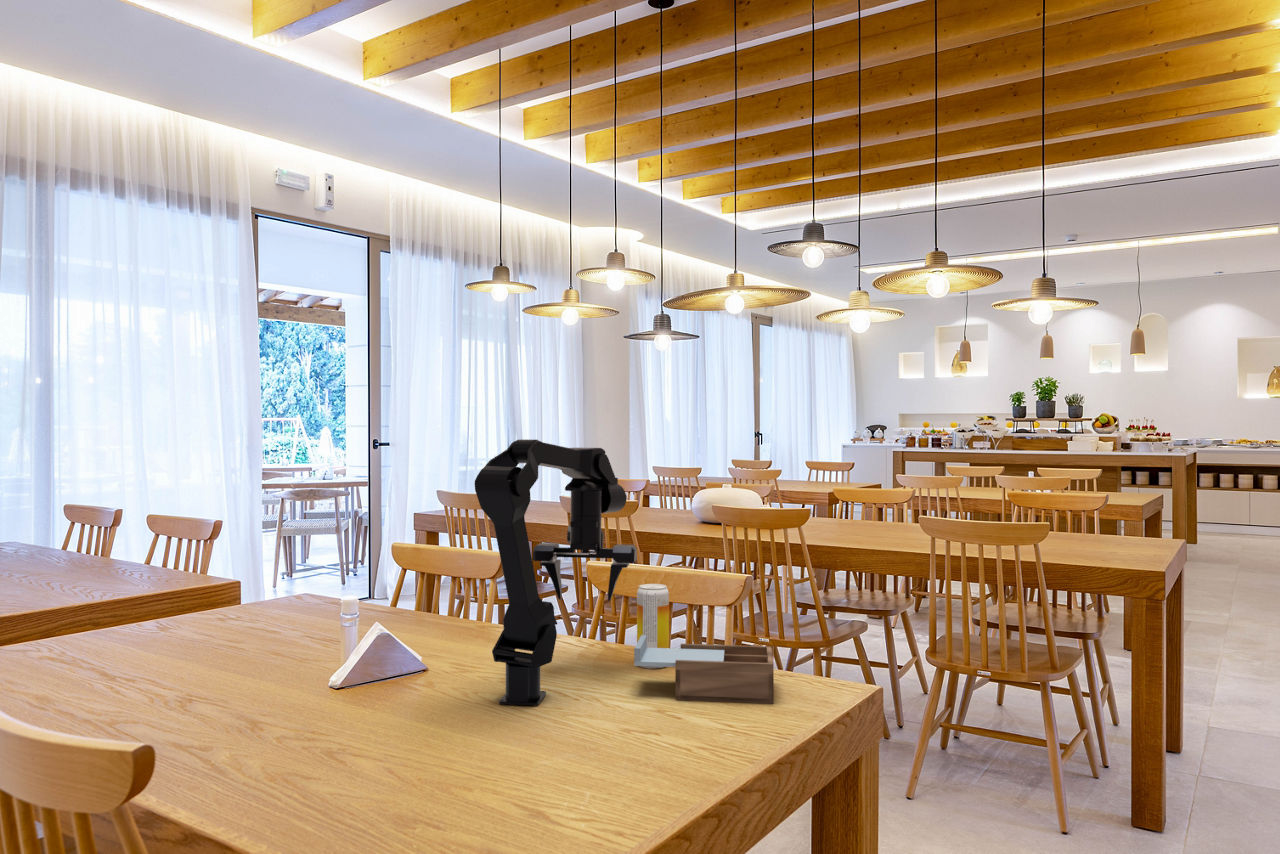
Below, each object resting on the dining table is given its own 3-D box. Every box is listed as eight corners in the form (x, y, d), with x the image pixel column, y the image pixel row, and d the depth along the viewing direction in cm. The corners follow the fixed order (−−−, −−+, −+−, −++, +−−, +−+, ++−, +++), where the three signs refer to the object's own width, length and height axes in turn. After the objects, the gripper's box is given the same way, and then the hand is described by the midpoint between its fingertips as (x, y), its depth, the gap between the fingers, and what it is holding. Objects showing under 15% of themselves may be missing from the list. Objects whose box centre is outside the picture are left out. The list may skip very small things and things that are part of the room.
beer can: (669, 661, 164) (669, 583, 164) (667, 669, 158) (667, 589, 158) (638, 660, 164) (638, 583, 164) (635, 668, 158) (635, 588, 158)
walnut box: (773, 703, 137) (773, 664, 138) (675, 700, 139) (675, 661, 140) (771, 682, 149) (771, 646, 149) (680, 679, 151) (680, 643, 151)
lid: (723, 668, 140) (723, 651, 140) (634, 665, 142) (634, 648, 142) (724, 654, 149) (724, 637, 149) (641, 651, 151) (641, 635, 151)
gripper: (639, 513, 164) (638, 594, 163) (544, 511, 165) (543, 591, 165) (634, 517, 153) (633, 604, 152) (532, 515, 154) (531, 601, 154)
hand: (584, 599), depth 156 cm, fingers open, 9 cm apart
